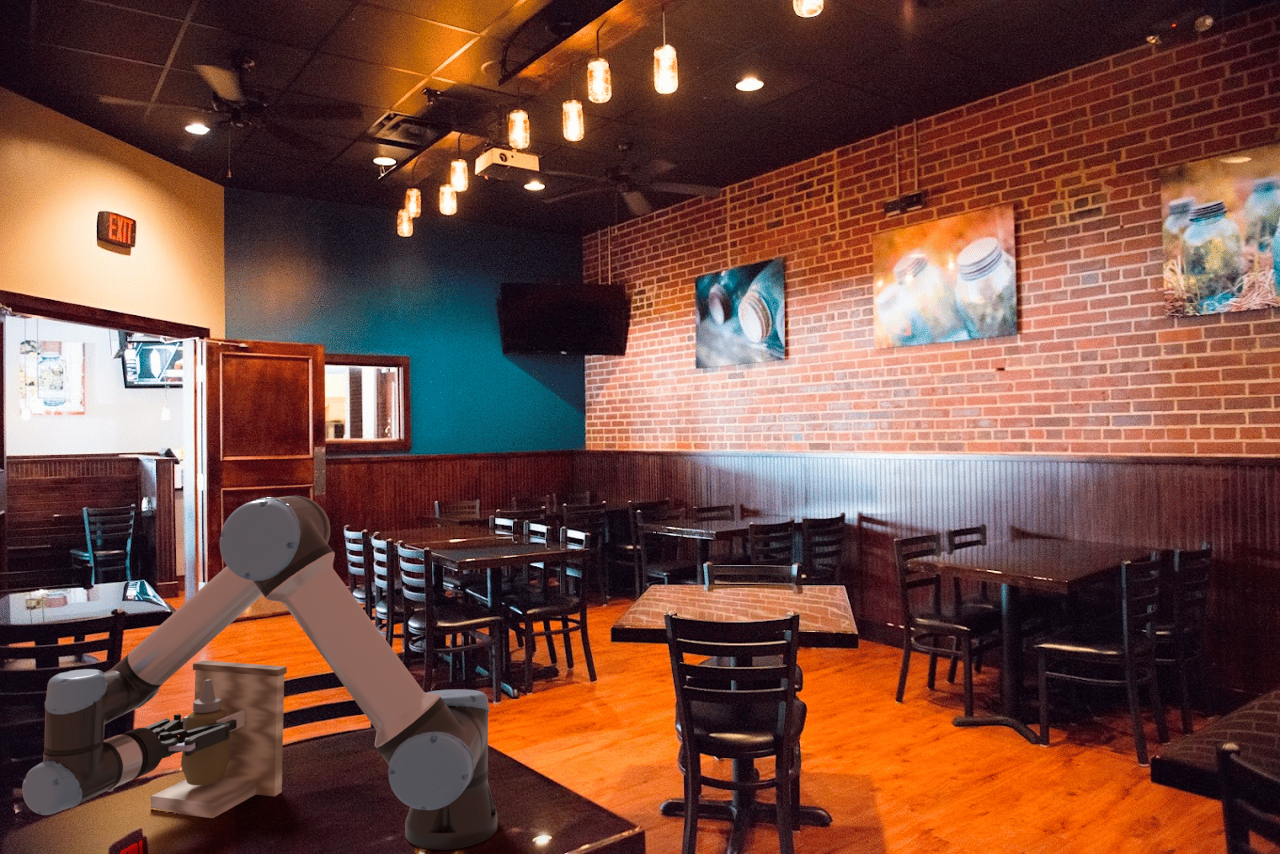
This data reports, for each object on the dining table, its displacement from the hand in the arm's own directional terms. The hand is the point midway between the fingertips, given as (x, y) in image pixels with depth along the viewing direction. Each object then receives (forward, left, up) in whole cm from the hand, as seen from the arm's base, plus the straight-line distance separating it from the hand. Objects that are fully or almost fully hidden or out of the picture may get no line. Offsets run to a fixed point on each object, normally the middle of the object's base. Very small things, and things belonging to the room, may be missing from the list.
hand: (226, 716), depth 161 cm
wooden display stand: (-3, +3, -14) cm, 14 cm away
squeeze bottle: (-3, +4, -10) cm, 11 cm away
